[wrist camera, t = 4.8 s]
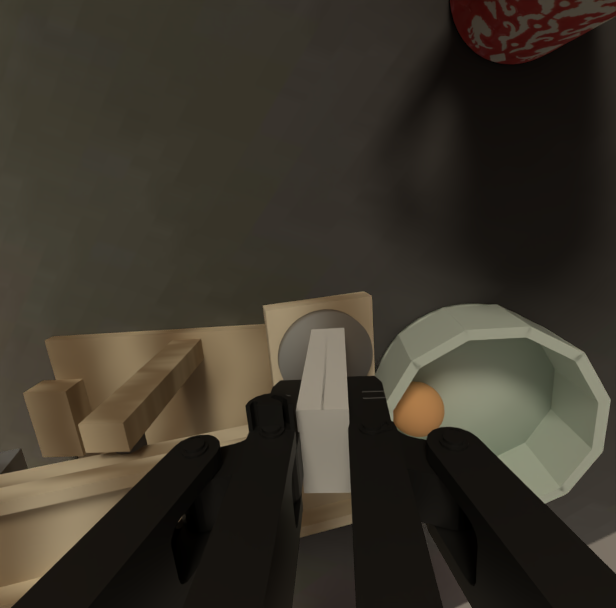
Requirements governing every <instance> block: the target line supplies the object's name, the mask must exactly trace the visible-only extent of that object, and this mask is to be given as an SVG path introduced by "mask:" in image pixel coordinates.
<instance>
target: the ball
mask: <svg viewBox="0 0 616 608" xmlns="http://www.w3.org/2000/svg"><path fill="white" fill-rule="evenodd" d="M444 413H445V411H444V404H443V401H442V399H441V397H440V395H439V394H438V392H437V391H436V390H435V389H434V388H432V387H431V386H429V385H427V384H425V383H422V382H411V383H410V385H409V386H408V388H407V389H406V391H405V393H404V394H403V396H402V397H401V399H400V401H399V402H398V404H397V406H396V407H395V409H394V410H393V422H394V424H395V426H396V427H397V428H398V429H399V430H400V431H402V432H403V433H405V434H407V435H410V436H414V437H424V436H427V435H428V434H429V433H430V432H431V431H432V430H434V429H437V428H439V427H440V425H441V424H442V422H443V419H444Z"/></svg>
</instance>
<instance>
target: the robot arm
mask: <svg viewBox="0 0 616 608" xmlns="http://www.w3.org/2000/svg"><path fill="white" fill-rule="evenodd" d="M245 407H246V415H247V422H248V429H249V433H248V435H247V438H246V439H245V440H243V441H241V442H238V443H235V444H231V445H227V446H222V447H220V441H219V440H218V439H217V438H216V437H214V436H211V435H196V436H192V437H189V438H187V439H185V440H182V441H181V442H180V443H178V444H177V445H176V446H174V447H173V448H172V449H171V450H170V451H169V452H168V453H167V454H166V455H165V456H164V457H163V458H162V459H161V460H160V461H159V462H158V463H157V464H156V465H155V466H154V467H153V468H152V469H151V470H150V471H149V472H148V473H147V474H146V475H145V476H144V477H143V478H142V479H141V480H140V481H139V482H138V483H137V484H136V485H135V486H134V487H133V488H132V489H131V490H130V491H129V492H128V493H127V494H126V495H125V496H124V497H123V498H122V499H121V500H120V501H119V502H117V503H116V504H115V505H114V506H113V507H112V508H111V509H110V510H109V511H108V512H107V513H106V514H105V515H104V516H103V517H102V518H101V519H100V520H99V521H98V522H97V523H96V524H95V525H94V526H93V527H92V528H91V529H90V530H89V531H88V532H87V533H86V534H85V535H84V536H83V537H82V538H81V539H80V540H79V541H78V542H77V543H76V544H75V545H74V546H73V547H72V548H71V549H70V550H69V551H68V552H67V553H66V554H65V555H64V556H63V557H62V558H61V559H60V560H59V561H58V562H57V563H56V564H55V565H54V566H53V567H52V568H51V569H50V570H49V571H48V572H47V573H46V574H44V575H43V576H42V577H41V578H40V579H39V580H38V581H37V582H36V583H35V584H34V585H33V586H32V587H31V588H30V589H29V590H28V591H27V592H26V593H25V594H24V595H23V596H22V597H21V598H20V599H19V600H18V601H17V602H16V603H15V604H14V605H13V606H12V607H11V608H292V604H293V595H294V586H295V577H296V568H297V559H298V550H299V541H300V532H301V522H302V513H303V501H302V485H303V487H304V493H351V506H352V528H353V549H354V571H355V592H356V608H443V606H442V602H441V598H440V594H439V590H438V586H437V583H436V579H435V575H434V571H433V567H432V563H431V559H430V555H429V551H428V548H427V544H426V540H425V536H424V532H423V528H422V524H421V522H424V523H426V525H427V528H428V531H429V533H430V535H431V536H432V538H433V540H434V542H435V543H436V545H437V547H438V549H439V551H440V552H441V554H442V556H443V558H444V559H445V561H446V563H447V565H448V566H449V568H450V570H451V572H452V573H453V575H454V577H455V579H456V580H457V582H458V584H459V586H460V588H461V589H462V591H463V593H464V595H465V596H466V598H467V600H468V602H469V603H470V605H471V607H472V608H616V574H615V573H614V572H613V571H612V570H611V569H610V568H609V567H608V566H607V565H606V564H605V563H604V562H603V561H602V560H601V559H600V558H599V557H598V556H597V555H596V554H595V553H594V552H593V551H592V550H591V549H590V548H589V547H588V546H587V545H586V544H585V543H584V542H583V541H582V540H581V539H580V538H579V537H578V536H577V535H576V534H575V533H574V532H573V531H572V530H571V529H570V528H569V527H568V526H567V525H566V524H565V523H564V522H563V521H562V520H561V519H560V518H559V517H558V516H557V515H556V514H555V513H554V512H553V511H552V510H551V509H550V508H549V507H548V506H547V505H546V504H545V503H544V502H543V501H542V500H541V499H540V498H539V497H538V496H537V495H536V494H535V493H533V492H532V491H531V490H530V489H529V488H528V487H527V486H526V485H525V484H524V483H523V482H522V481H521V480H520V479H519V478H518V477H517V476H516V475H515V474H514V473H513V472H512V471H511V470H510V469H509V468H508V467H507V466H506V465H505V464H504V463H503V462H502V461H501V460H500V459H499V458H498V457H497V456H496V455H495V454H494V453H493V452H492V451H491V450H490V449H489V448H488V447H487V446H486V445H485V444H484V443H483V442H482V441H481V440H480V439H479V438H478V437H477V436H475V435H474V434H472V433H471V432H469V431H466V430H464V429H461V428H456V427H440V428H437V429H434V430H432V431H431V432H430V433H429V434H428V435H427V440H425V439H419V438H414V437H410V436H408V435H405V434H403V433H401V432H400V431H398V430H397V427H396V426H395V424H394V422H393V421H391V418H390V413H389V409H388V405H387V401H386V398H385V393H384V388H383V384H382V382H381V381H380V380H379V379H378V378H377V377H376V376H352V377H347V366H346V349H345V332H344V328H329V329H312V330H311V335H310V340H309V345H308V350H307V355H306V361H305V366H304V371H303V376H302V380H280V381H279V382H278V383H277V384H276V385H274V386H273V387H272V390H271V393H268V394H263V395H260V396H257V397H255V398H253V399H251V400H250V401H249V402H248V403H247V404H246V405H245ZM181 517H182V518H181ZM179 520H180V521H179ZM178 521H179V522H178Z"/></svg>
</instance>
